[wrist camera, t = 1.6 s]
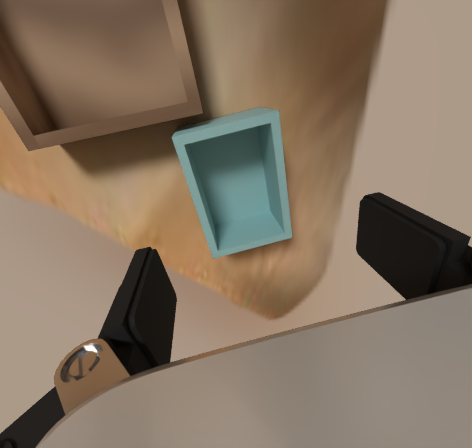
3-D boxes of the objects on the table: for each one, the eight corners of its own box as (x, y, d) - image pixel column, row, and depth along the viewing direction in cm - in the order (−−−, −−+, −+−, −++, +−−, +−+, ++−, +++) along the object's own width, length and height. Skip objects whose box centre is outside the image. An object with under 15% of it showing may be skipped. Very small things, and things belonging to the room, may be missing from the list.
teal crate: (177, 127, 19) (171, 137, 14) (260, 107, 19) (278, 110, 15) (209, 229, 24) (212, 258, 20) (274, 211, 24) (292, 237, 20)
